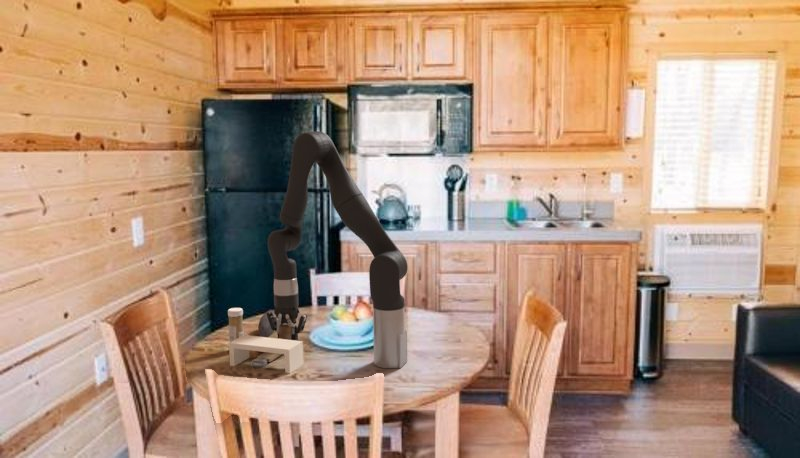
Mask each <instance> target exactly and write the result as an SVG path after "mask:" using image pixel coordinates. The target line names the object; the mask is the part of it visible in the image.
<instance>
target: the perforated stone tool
mask: <svg viewBox="0 0 800 458" xmlns="http://www.w3.org/2000/svg"><path fill="white" fill-rule="evenodd" d="M274 310H275V309H269V310H267V311H266V312H264V313H263V315H261V318H260V320H259V321H258V327H257V332H258V334H259V337H270V335H271V334H273V333H274V332H275V331H273V330H272V329H271V326H270V323H269V320H268V317H267V313H269V312H271V311H274ZM276 320H277V322H278V318H277V317H276Z"/></svg>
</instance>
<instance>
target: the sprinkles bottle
mask: <svg viewBox="0 0 800 458" xmlns="http://www.w3.org/2000/svg"><path fill="white" fill-rule="evenodd" d="M243 315H244V310H243V308H241V307H231V308H229V309H228V310H227V317H228V334H229V335H228V337H229V343H230V342H232V341H234V340H235V339H237V338H239V337H241V336H243V335H245V334H244V325H243V324H244V323H243V320H244V319H243Z"/></svg>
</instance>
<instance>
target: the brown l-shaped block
mask: <svg viewBox="0 0 800 458" xmlns="http://www.w3.org/2000/svg"><path fill="white" fill-rule="evenodd" d="M291 335H292V333H291V328H290V327H289V325H288V324H287V323H285V324H283V325H281V326H279V339H287V340H292V338H291ZM280 356H283V354H278V353H269V352H263V353H261V354H260V355H259V356H257V357H256V359H257V358H265V359H267V363H271V362H273V361H274V360H276V359H277V358H279V357H280Z"/></svg>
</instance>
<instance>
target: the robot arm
mask: <svg viewBox="0 0 800 458" xmlns="http://www.w3.org/2000/svg"><path fill="white" fill-rule="evenodd" d="M314 164H317V166H318V167H319V169H320V170H321V171H322V173H323V175H324V176H325V178H326V180H327V182H328V183H327V184H328V187H329V194H330V200H331V203H332V206H333V208H334V211H336V213H337V215H338V216H339V218H340V219H341V221H342V223H343V224H344V225H345V227H347V228H348V230H350V231H351V232H352V233H353V234H354V235H355V236H357V237H358V238H359V239H360V240H361V241H362V242H364V244H365V246H366V247H368V249H369V251H370V252H371V254H372V256H373V259H372V260H371V262H370V265H369V271H368V278H369V294H370V295H369V296H370V299H371V300H372V311H373V312H372V322H373V323H372V324H373V325H372V328H373V332H372V333H373V364H374V366H376V367H378V368H381V369H401V368H403V366H404V365H405V364H406V363H407V362H408V331H407V330H405V327H406V325H405V324H406V322H405V320H406V319H405V318H406V317H405V315H406V314H405V312H406V311H405V310H406V309H405V297H404V296H403V295H401V284H400V283H401V282H400V281H401V280H402V279H404V278H405V277H406V275H407V274H408V273H407V272H408V268H409V267H408V266H409V265H408V262H407V259H406V257H405V256H404V254H403V252H401V250H400V249H399V248H398V247H397V245H396V243H394V241H393V239H391V237H389V235H388V234H387V232H386V230H385V229H384V227H383V226H382V223H381V222H380V220H379V219H378V217H377V215H376V214H375V213H374V210H373V209H372V207H371V205H370V204H369V202H368V200H367V199H366V198H365V196H364V194H363V193H362V192H361V190H360V188H359V187H358V186H357V183H356V182H355V180H354V179H353V177H352V175H351V174H350V172H349V171H348V169H347V167H346V165H345V164H344V162H343V160H342V158H341V155H340V154H339V152H338V149H337V148H336V146H335V144H334V142H333V140H332V139H331V136H329V135H328V134H326V133H325V132H323V131H317V130H316V131H306V132H303V133H302V132H301V133H300V134H298V135H297V137H296V138H295V140H294V143H293V147H292V153H291V162H290V170H289V176H288V178H289V179H288V184H287V189H286V194H285V197H284V200H283V203H282V206H281V210H280V213H279V220H280V223H282V224H283V225H284V226H285V228H283V229H282V228H281V229H278V230H274V231H272V232H270V233H269V235H268V238H267V249H268V252H269V255H270V258H271V262H272V265H273V303H274V304H273V305H274V309H273V310H274V311H271V312H269V313H267V317H268V320H269V323H270V326H271V329H272V330H273V331H274V332H276V333H277V339H279V326H281V325H283V324H285V323H287V324H288V325H289V327H290V328H291V333H292V335H291V338H292V340H296V341H299V334H300V333H301V332H303V331H304V329H305V325H306V323H307V318H308V314H306V313H305V314H303V313H301V312H300V310H299V284H298V278H297V274H298V273H297V271H298V270H297V262H296V260H294V259H293V258H290V257H289V256H288V254H287V252H291V251H295V250H296V249H297V248H298V247H299V246H300V244H301V242H302V236H303V234H302V233H303V219H304V216H305V213H306V209H307V206H308V202H309V201H308V199H309V191H308V179H309V175H310V172H311V169H312V167H313V166H314ZM288 257H289V258H288ZM276 317H277V319H278V322H277V320H276ZM297 319H298V320H297Z"/></svg>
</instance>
